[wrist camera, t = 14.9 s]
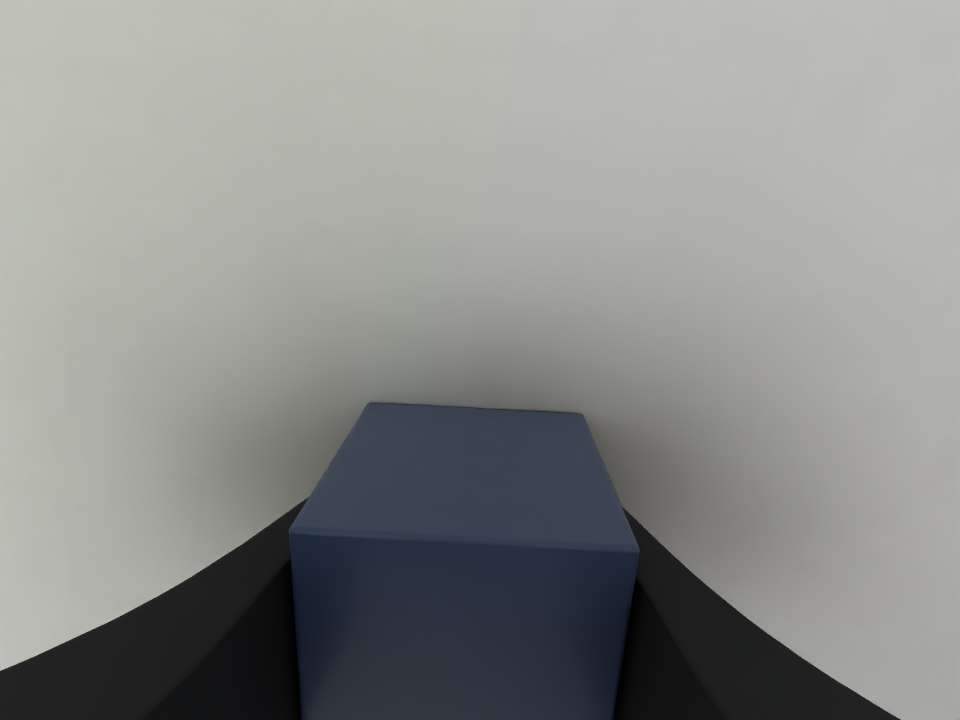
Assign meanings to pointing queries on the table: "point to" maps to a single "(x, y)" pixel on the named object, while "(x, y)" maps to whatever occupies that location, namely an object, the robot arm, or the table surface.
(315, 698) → the block
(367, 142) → the table surface
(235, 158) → the table surface
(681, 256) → the table surface
